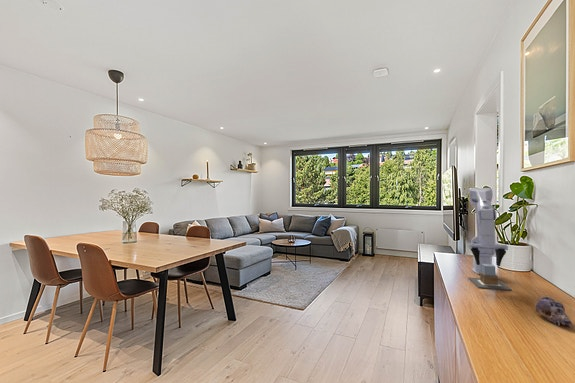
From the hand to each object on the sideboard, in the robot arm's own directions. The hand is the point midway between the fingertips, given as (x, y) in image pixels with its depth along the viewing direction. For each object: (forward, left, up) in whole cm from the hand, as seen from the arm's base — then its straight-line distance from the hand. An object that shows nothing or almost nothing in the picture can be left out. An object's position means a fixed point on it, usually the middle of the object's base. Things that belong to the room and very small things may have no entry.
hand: (488, 265), depth 121 cm
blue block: (0, 0, -4) cm, 4 cm away
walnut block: (0, 0, -8) cm, 8 cm away
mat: (0, 0, -9) cm, 9 cm away
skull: (+34, +7, -9) cm, 36 cm away
